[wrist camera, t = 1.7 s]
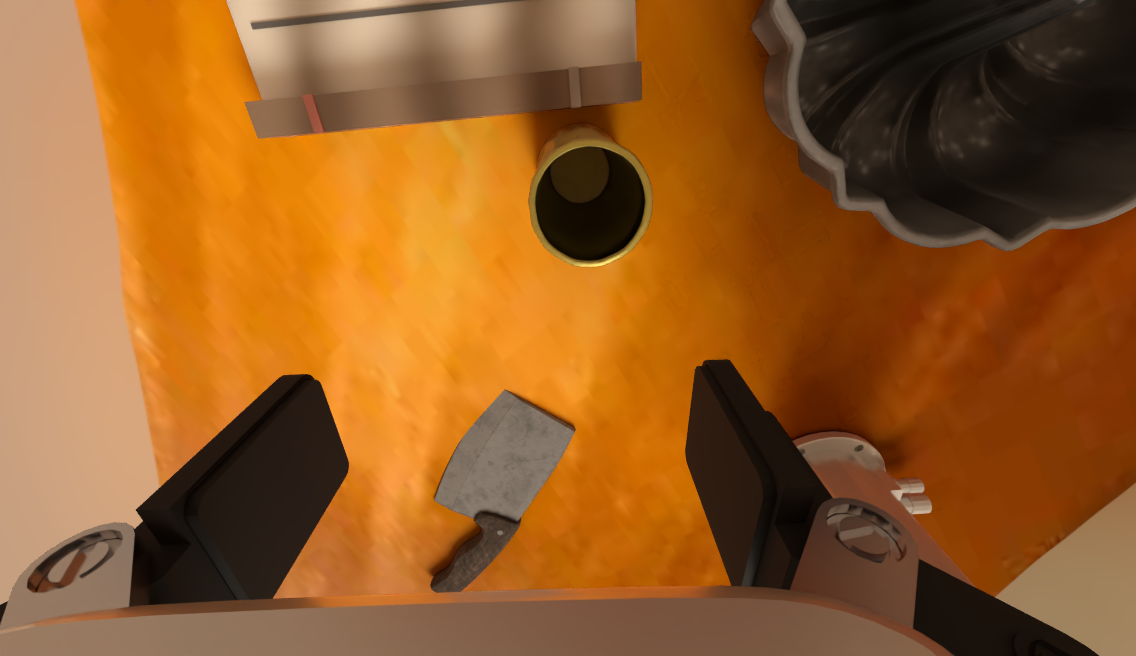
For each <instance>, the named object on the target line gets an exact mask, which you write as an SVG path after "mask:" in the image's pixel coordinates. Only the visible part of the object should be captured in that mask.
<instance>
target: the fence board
mask: <svg viewBox="0 0 1136 656" xmlns="http://www.w3.org/2000/svg"><path fill="white" fill-rule="evenodd" d="M226 1H227V4H228V7H229V9H230V12H231V15H232V18H233V20H234V23H235V26H236V29H237V31H238V34H239V37H240V40H241V42H242V45H243V48H244V51H245V53H246V56H247V59H248V62H249V65H250V67H251V70H252V73H253V76H254V78H255V81H256V84H257V87H258V89H259V92H260V95H261V98H262V101H252V102H245V105H246V108H247V110H248V113H249V116H250V118H251V121H252V124H253V126H254V129H255V131H256V134H257V137H258V138H274V137H290V136H300V135H310V134H320V133H330V132H340V131H350V130H360V129H370V128H380V127H390V126H400V125H410V124H420V123H430V122H440V121H450V120H460V119H470V118H480V117H490V116H500V115H510V114H520V113H530V112H540V111H550V110H560V109H570V108H580V107H590V106H600V105H610V104H620V103H630V102H636V101H640V100H642V79H641V61H640V62H637V57H636V0H226Z"/></svg>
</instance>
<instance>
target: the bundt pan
mask: <svg viewBox="0 0 1136 656" xmlns="http://www.w3.org/2000/svg"><path fill="white" fill-rule="evenodd" d="M751 30H752V32H753V33H754V34H755V36H756V37H757V39H758V40H759V41H760V43H761V44H762V46H763V47H764V49H765V50H766V51H767V53H768V54H769V60H768V62H767V66H766V69H765V74H764V79H763V97H764V104H765V107H766V110H767V112H768V115H769V117H770V118H771V120H772V122H773V123H774V125H775V126H776V127H777V128H778V129H779V130H780V131H781V132H782V133H783V134H785V135H786V136H787V137H789V138H790V139H792V140H794V141H796V143H797V144H798V158H799V167H800V169H801V170H802V172H803V173H804V174H805V175H806V176H808V177H810V178H811V179H812V180H814V181H815V182H817V183H818V184H820V185H822V186H823V187H825V188H826V189H828V190H829V191H831V192H832V199H833V201H834V203H835V205H837V206H838V207H839V208H842V209H845V210H854V211H870V212H871V213H872V214H873V215H874V216H875V218H876V219H877V220H878V221H879V223H880V224H881V225H882V226H883V228H885V229H886V230H887V231H888V232H890V233H891V234H892V235H894V236H896V237H897V238H899V239H901V240H904V241H906V242H909V243H912V244H915V245H918V246H922V247H932V248H944V247H952V246H958V245H962V244H967V243H970V242H972V241H975V240H983V241H984V242H986V243H988V244H989V245H991V246H993V247H996V248H998V249H1001V250H1003V251H1011V250H1014V249H1017V248H1019V247H1021V246H1022V245H1024V244H1025V243H1027V242H1028V241H1030V240H1031V239H1033V238H1035V237H1036V236H1038V235H1039V234H1041V233H1043V232H1045V231H1047V230H1049V229H1054V228H1057V229H1076V228H1082V227H1086V226H1090V225H1094V224H1098V223H1101V222H1104V221H1106V220H1109V219H1112V218H1114V217H1116V216H1118V215H1120V214H1123V213H1125V212H1126V211H1128V210H1130V209H1132V208H1134V207H1136V0H764V1H763V3H762V5H761V7H760V9H759V10H758V12H757V14H756V16H755V17H754V19H753V21H752V24H751Z"/></svg>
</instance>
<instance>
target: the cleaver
mask: <svg viewBox="0 0 1136 656" xmlns="http://www.w3.org/2000/svg"><path fill="white" fill-rule="evenodd" d="M575 430H576V429H575V428H574V427H573V426H571V425H569V424H567V423H565V422H563V421H562V420H560V419H558V418H556V417H554V416H552V415H551V414H549V413H547V412H545V411H543V410H541V409H540V408H538V407H536V406H534V405H532V404H530V403H529V402H527V401H525V400H523V399H521V398H519V397H517V396H516V395H514V394H512V393H510V392H508V391H507V390H504V391H503V392H502V393H501V394H500V395H499V396H498V397H497V399H496V400H495V401H494V402H493V403H492V404H491V405H490V406H489V407H488V408H487V410H486V411H485V412H484V413H483V414H482V415H481V416H480V417H479V418H478V420H477V421H476V422H475V423H474V424H473V426H472V427H471V428H470V429H469V430H468V432H467V433H466V434H465V435H464V437H463V438H462V439H461V441H460V442H459V444H458V446H457V448H456V450H455V452H454V453H453V455H452V457H451V459H450V462H449V464H448V466H447V468H446V470H445V473H444V475H443V478H442V480H441V483H440V485H439V488H438V491H437V494H436V497H435V499H434V501H436V502H438V503H439V504H441V505H443V506H445V507H447V508H448V509H450V510H452V511H455V512H458V513H460V514H463V515H466V516H468V517H471V518H474V521H475V522H476V523H477V524H478V525H479V526H480V527H481V528H482V531H481V532H480V533H479V534H478V535H477V536H475V537H474V538H472V539H470V540H469V541H467V542H466V543H464V544H463V545H462V546H461V547H460V548H459V549H458V551H457V552H456V555H455V557H454V559H453V561H452V563H451V564H450V565H449V566H448V567H447V568H446V569H444V570H443V571H442V572H440V573H439V574H437V575H436V576H435V577H434V578H433V579H432V581H431V585H430V586H431V589H432V590H433V591H435V592H436V593H443V592H461V591H462V590H463V589H464V588H465V587H467V586H468V585H469V584H470V583H471V582H472V581H473V580H474V579H475V578H476V577H477V576H478V575H479V574H480V573H481V572H482V571H483V570H484V569H485V568H486V567H487V566H488V565H489V564H490V563H491V562H492V561H493V560H494V559H495V558H496V556H497V555H498V554H499V553H500V552H501V551H502V550H503V548H504V547H505V546H506V545H507V543H508V542H509V541H510V539H511V538H512V537H513V535H514V534H515V532H516V531H517V529H518V528H519V526H520V523H521V516H522V515H523V513H524V512H525V510H526V509H527V508H528V506H529V505H530V503H531V502H532V500H533V499H534V498H535V496H536V495H537V493H538V492H539V490H540V489H541V488H542V486H543V485H544V483H545V482H546V480H547V479H548V477H549V476H550V475H551V473H552V472H553V470H554V469H555V467H556V465H557V464H558V462H559V461H560V459H561V457H562V456H563V454H564V452H565V450H566V448H567V446H568V444H569V442H570V440H571V438H572V436H573V434H574V432H575Z"/></svg>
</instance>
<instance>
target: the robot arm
mask: <svg viewBox="0 0 1136 656" xmlns="http://www.w3.org/2000/svg"><path fill="white" fill-rule="evenodd" d="M685 453H686V461H687V465H688V467H689V470H690V473H691V476H692V478H693V481H694V484H695V487H696V489H697V492H698V495H699V498H700V500H701V503H702V506H703V509H704V511H705V514H706V517H707V520H708V522H709V525H710V528H711V531H712V533H713V536H714V539H715V542H716V544H717V547H718V550H719V553H720V555H721V558H722V561H723V564H724V566H725V569H726V572H727V575H728V577H729V580H730V583H731V586H648V587H607V588H572V589H537V590H503V591H473V592H443V593H414V594H386V595H357V596H332V597H307V598H282V599H273V597H274V595H275V594H276V592H277V590H278V589H279V587H280V585H281V584H282V582H283V580H284V579H285V577H286V575H287V574H288V572H289V570H290V569H291V567H292V565H293V564H294V562H295V560H296V559H297V557H298V555H299V554H300V552H301V550H302V549H303V547H304V545H305V544H306V542H307V540H308V539H309V537H310V535H311V534H312V532H313V530H314V529H315V527H316V525H317V524H318V522H319V520H320V519H321V517H322V515H323V514H324V512H325V510H326V509H327V507H328V505H329V504H330V502H331V500H332V499H333V497H334V495H335V494H336V492H337V490H338V489H339V487H340V486H341V484H342V482H343V481H344V479H345V477H346V475H347V473H348V468H349V462H348V458H347V455H346V453H345V450H344V447H343V444H342V441H341V439H340V436H339V433H338V430H337V427H336V425H335V422H334V419H333V416H332V413H331V411H330V408H329V405H328V402H327V399H326V397H325V394H324V391H323V388H322V385H321V383H320V382H319V381H318V380H314V378H313V377H312V376H311V375H308V374H300V375H283V376H281V377H280V378H278V379H277V380H276V381H275V382H274V383H273V384H272V385H271V386H270V387H269V388H268V389H266V390H265V391H264V392H263V393H262V394H261V395H260V396H259V397H258V398H257V399H256V400H255V401H253V402H252V403H251V404H250V405H249V406H248V407H247V408H246V409H245V410H244V411H243V412H241V413H240V414H239V415H238V416H237V417H236V418H235V419H234V420H233V421H232V422H231V423H230V424H228V425H227V426H226V427H225V428H224V429H223V430H222V431H221V432H220V433H219V434H218V435H217V436H215V437H214V438H213V439H212V440H211V441H210V442H209V443H208V444H207V445H206V446H205V447H203V448H202V449H201V450H200V451H199V452H198V453H197V454H196V455H195V456H194V457H193V458H192V459H190V460H189V461H188V462H187V463H186V464H185V465H184V466H183V467H182V468H181V469H180V470H179V471H177V472H176V473H175V474H174V475H173V476H172V477H171V478H170V479H169V480H168V481H167V482H165V483H164V484H163V485H162V486H161V487H160V488H159V489H158V490H157V491H156V492H155V493H154V494H153V495H151V496H150V497H149V498H148V499H147V500H146V501H145V502H144V503H143V504H142V505H140V506H139V507H138V508H137V509H136V511H137V512H138V514H139V515H140V517H141V518H142V520H143V522H142V523H141V524H140V525H139V526H137V527H136V529H134V528H133V527H132V526H131V525H129V524H127V523H110V524H105V525H100V526H97V527H94V528H91V529H88V530H85V531H83V532H81V533H79V534H77V535H75V536H72V537H70V538H68V539H66V540H65V541H63V542H61V543H59V544H58V545H56V546H55V547H53V548H51V549H50V550H49V551H47V552H46V553H44V554H43V555H42V556H40V557H39V558H38V559H37V560H35V561H34V562H33V563H31V565H30V566H29V567H28V568H27V569H26V570H25V571H24V572H23V573H22V574H21V575H20V576H19V578H18V580H17V581H16V583H15V585H14V586H13V588H12V592H11V595H10V597H9V601H7V602H5V603H3V604H1V605H0V656H1099V655H1097V654H1096V653H1095V652H1094V651H1092V650H1091V649H1089V648H1088V647H1087V646H1085V645H1083V644H1082V643H1080V642H1078V641H1077V640H1075V639H1073V638H1072V637H1070V636H1068V635H1067V634H1065V633H1063V632H1061V631H1059V630H1057V629H1055V628H1053V627H1051V626H1049V625H1047V624H1045V623H1043V622H1042V621H1039V620H1038V619H1036V618H1034V617H1032V616H1030V615H1028V614H1026V613H1024V612H1022V611H1020V610H1018V609H1016V608H1014V607H1012V606H1010V605H1008V604H1006V603H1005V602H1003V601H1001V600H999V599H996V598H995V597H993V596H991V595H989V594H987V593H985V592H983V591H981V590H979V589H977V588H976V587H975V586H974V585H973V584H972V582H971V581H970V580H969V579H968V578H967V577H966V576H965V575H964V573H963V572H962V571H961V570H960V569H959V568H958V567H957V565H956V564H955V563H954V562H953V561H952V560H951V559H950V558H949V556H948V555H947V554H946V553H945V552H944V551H943V550H942V548H941V547H940V546H939V545H938V544H937V543H936V542H935V541H934V539H933V538H932V537H931V536H930V535H929V534H928V533H927V531H926V530H925V529H924V528H923V527H922V526H921V525H920V524H919V522H918V521H917V520H916V519H915V518H914V517H913V516H912V514H922V513H930V512H931V510H932V504H931V502H930V500H929V498H928V497H927V495H925V494H924V493H921V492H923V491H924V484H923V482H922V481H921V480H920V479H919V478H916V477H914V478H902V479H895V478H893V477H890V476H889V474H888V473H887V472H886V469H885V463H884V460H883V458H882V456H881V454H880V453H879V452H878V451H877V450H876V449H875V448H874V446H873V445H872V444H870V443H869V442H868V441H867V440H866V439H863V438H861V437H859V436H857V435H854V434H850V433H846V432H836V431H832V432H820V433H815V434H811V435H807V436H804V437H801V438H798V439H796V440H794V441H792V440H791V438H790V437H789V436H788V434H787V433H786V431H785V430H784V429H783V427H782V426H781V424H780V423H779V422H778V420H777V419H776V417H775V416H774V415H773V414H772V413H771V412H768V411H765V410H764V409H763V407H762V406H761V404H760V403H759V401H758V400H757V399H756V397H755V396H754V394H753V393H752V391H751V390H750V389H749V387H748V386H747V384H746V383H745V381H744V380H743V378H742V377H741V376H740V374H739V373H738V371H737V370H736V368H735V367H734V365H733V364H732V363H731V361H730V360H727V359H725V360H705V361H704V362H703V365H702V366H697V367H696V369H695V375H694V383H693V391H692V399H691V408H690V416H689V424H688V432H687V440H686V449H685Z"/></svg>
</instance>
